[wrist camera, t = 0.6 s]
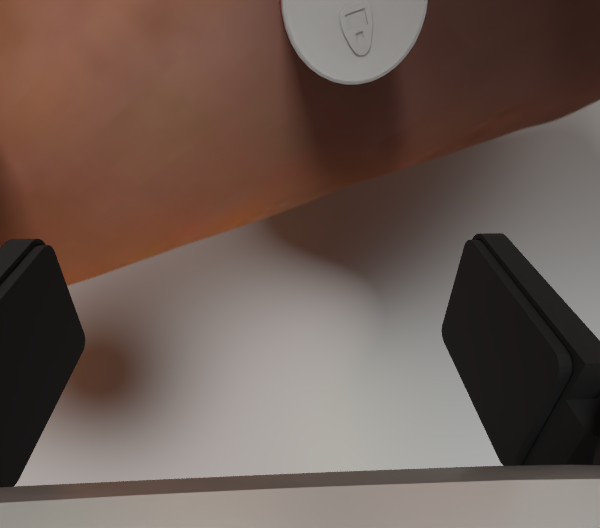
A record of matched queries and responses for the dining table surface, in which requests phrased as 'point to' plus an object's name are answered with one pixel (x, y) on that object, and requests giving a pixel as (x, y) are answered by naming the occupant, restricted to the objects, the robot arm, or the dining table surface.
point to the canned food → (352, 35)
